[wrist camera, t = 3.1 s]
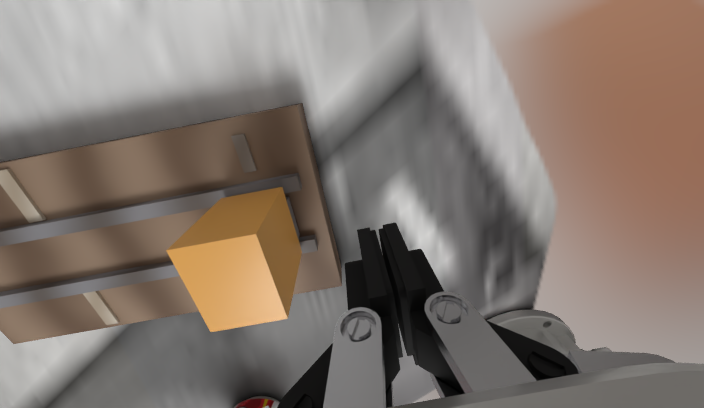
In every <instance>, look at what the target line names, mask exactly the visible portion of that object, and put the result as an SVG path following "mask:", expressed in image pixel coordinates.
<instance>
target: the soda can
mask: <svg viewBox="0 0 704 408" xmlns="http://www.w3.org/2000/svg"><path fill="white" fill-rule="evenodd" d="M279 403H280V402H279V401H278V400H276V399H274V398H271V397H267V396H256V397H252V398H249V399H247V400H245V401H242V402H240V403H239V404H237V405H236V406H235V407H234V408H264V407H266V406H269V408H273V407H275V406H278V405H279Z"/></svg>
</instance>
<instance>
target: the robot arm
mask: <svg viewBox="0 0 704 408" xmlns="http://www.w3.org/2000/svg"><path fill="white" fill-rule="evenodd" d="M357 232H358V237H359V243H360V249H361V255H362V260H359V261H353V262H348V263H345V273H346V287H347V300H348V311H346V312H345V313H344V314H343V315H341V317H340V318H339V320H338V321H337V324H336V327H335V334H334V340H333V343H332V344H331V346H330V347H329V348H328V349H327V350H326V351H325V352H324V353H323V354H322V355H321V356H320V358H319V359H318V360H317V361H316V362H315V363H314V364H313V365H312V366H311V367H310V369H309V370H308V371H307V372H306V373H305V374H304V375H303V376H302V377H301V378H300V379H299V381H298V382H297V383H296V384H295V385H294V386H293V387H292V388H291V389H290V390H289V392H288V393H287V394H286V395H285V396H284V397H283V399H282V400H281V401H280V403H279V405H278V406H275V407H273V408H704V364H695V363H675V362H674V361H672V360H669V359H667V358H664V357H661V356H659V355H654V354H648V353H629V352H612V351H611V350H610V349H609V348H606V347H604V348H598V349H592V350H591V351H584V350H582V349H579V347H578V346H577V345H576V344H575V338H574V334H573V333H572V331H571V330H570V328H569V327H568V326H567V325H566V324H565V323H564V322H563V321H562V320H561V319H560V318H558V317H557V316H555V315H553V314H551V313H548V312H545V311H538V310H517V311H511V312H507V313H504V314H500V315H497V316H495V317H493V318H491V319H488V320H485V319H484V318H483V317H482V316H481V315H480V313H479V312H478V311H477V310H476V309H475V308H474V306H473V305H472V304H471V303H470V302H469V301H468V300H467V299H466V298H465V297H463V296H461V295H459V294H457V293H453V292H444V290H443V289H442V287H441V285H440V283H439V281H438V279H437V277H436V275H435V274H434V272H433V270H432V268H431V266H430V264H429V262H428V260H427V259H426V257H425V255H424V253H423V251H422V250H421V249H417V250H411V251H408V249H407V246H406V244H405V242H404V240H403V238H402V235H401V233H400V231H399V229H398V226H397V224H396V223H391V224H386V225H383V228H382V229H379V235H380V241H381V247H382V252H381V249H380V245H379V242H378V238H377V235H376V231H375V230H372V231H370V228H365V229H359V230H357ZM382 254H383V255H382ZM398 324H399V327H398ZM399 328H400V331H401V335H402V339H403V342H404V346H405V349H406V353H407V356H411V355H413V357H414V361H415V364H416V365H419V366H420V367H422V368H423V369H425V370H427V371H428V372H430V376H431V379H432V381H433V383H434V385H435V387H436V389H437V391H438V393H439V395H440V397H441V398H439V399H434V400H428V401H423V402H417V403H412V404H406V405H401V406H395V407H394V396H393V385H392V381H393V380H394V378H395V377H396V375H397V374H398V372H399V370H400V365H399V358H400V357H403V354H402V347H401V341H400V334H399ZM264 408H269V406H266V407H264Z"/></svg>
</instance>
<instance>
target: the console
mask: <svg viewBox="0 0 704 408" xmlns="http://www.w3.org/2000/svg"><path fill="white" fill-rule="evenodd" d="M278 187H283V191H284V194H285V197H288V196H289V199H290V203H291V206H292V209H293V213H294V216H295V219H296V223H297V226H298V229H299V233H300V236H299V243H300V247H301V250H302V255H301V259H300V264H299V269H298V273H297V278H296V282H295V287H294V292H293V294H299V293H304V292H310V291H316V290H321V289H327V288H333V287H338V286H342V275H341V264H340V259H339V255H338V251H337V247H336V243H335V238H334V234H333V230H332V226H331V222H330V218H329V213H328V209H327V205H326V201H325V197H324V192H323V188H322V184H321V180H320V176H319V172H318V167H317V163H316V159H315V155H314V151H313V146H312V142H311V138H310V134H309V130H308V126H307V121H306V117H305V113H304V109H303V105H302V103H301V104H296V105H291V106H285V107H280V108H275V109H270V110H265V111H260V112H255V113H250V114H245V115H239V116H234V117H229V118H224V119H219V120H214V121H209V122H204V123H199V124H193V125H188V126H183V127H178V128H173V129H168V130H163V131H158V132H153V133H147V134H142V135H137V136H132V137H127V138H122V139H117V140H112V141H107V142H101V143H96V144H91V145H86V146H81V147H76V148H71V149H66V150H61V151H55V152H50V153H45V154H40V155H35V156H30V157H25V158H20V159H15V160H9V161H4V162H0V331H1V332H2V333H3V334H4V335H5V336H6V337H7V338H8V339H9V340H10V341H11V342H12V343H13V344H17V343H22V342H28V341H33V340H39V339H45V338H50V337H56V336H62V335H67V334H73V333H79V332H84V331H90V330H96V329H101V328H107V327H113V326H118V325H124V324H129V323H135V322H141V321H146V320H152V319H158V318H163V317H169V316H175V315H180V314H186V313H192V312H197V311H199V310H198V308H197V306H196V304H195V302H194V301H193V299H192V297H191V295H190V293H189V291H188V290H187V288H186V286H185V284H184V282H183V280H182V279H181V277H180V275H179V273H178V271H177V269H176V268H175V266H174V264H173V262H172V260H171V258H170V257H169V255H168V253H167V251H166V250H167V249H168V248H169V247H170V246H171V245H172V244H173V243H175V242H176V241H177V240H178V239H179V238H180V237H181V236H182V235H183V234H184V233H185V232H186V231H187V230H188V229H189V228H190V227H191V226H192V225H193V224H195V223H196V222H197V221H198V220H199V219H200V218H201V217H202V216H203V215H204V214H205V213H206V212H207V211H208V210H209V209H210V208H211V207H212V206H213V205H214V204H216V203H217V202H218V201H219V200H220V199H221V198H225V197H230V196H236V195H241V194H246V193H252V192H257V191H262V190H268V189H273V188H278Z"/></svg>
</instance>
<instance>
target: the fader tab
mask: <svg viewBox="0 0 704 408" xmlns="http://www.w3.org/2000/svg"><path fill="white" fill-rule="evenodd" d="M299 236H300V233H299V229H298V226H297V223H296V219H295V216H294V213H293V209H292V206H291V203H290V199H289V196H288V197H285V194H284V191H283V187H278V188H273V189H268V190H262V191H257V192H252V193H246V194H241V195H236V196H230V197H225V198H221V199H220V200H219V201H218V202H217V203H216V204H214V205H213V206H212V207H211V208H210V209H209V210H208V211H207V212H206V213H205V214H204V215H203V216H202V217H201V218H200V219H199V220H198V221H197V222H196V223H195V224H193V225H192V226H191V227H190V228H189V229H188V230H187V231H186V232H185V233H184V234H183V235H182V236H181V237H180V238H179V239H178V240H177V241H176V242H175V243H173V244H172V245H171V246H170V247H169V248H168V249H167V250H166V251H167V253H168V255H169V257H170V258H171V260H172V262H173V264H174V266H175V268H176V269H177V271H178V273H179V275H180V277H181V279H182V280H183V282H184V284H185V286H186V288H187V290H188V291H189V293H190V295H191V297H192V299H193V301H194V302H195V304H196V306H197V308H198V310H199V312H200V313H201V315H202V317H203V319H204V321H205V323H206V324H207V326H208V328H209V330H210V332H215V331H221V330H226V329H232V328H238V327H243V326H249V325H255V324H261V323H266V322H272V321H278V320H283V319H288V315H289V310H290V306H291V301H292V296H293V292H294V287H295V282H296V278H297V273H298V269H299V264H300V259H301V255H302V250H301V247H300V243H299Z"/></svg>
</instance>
